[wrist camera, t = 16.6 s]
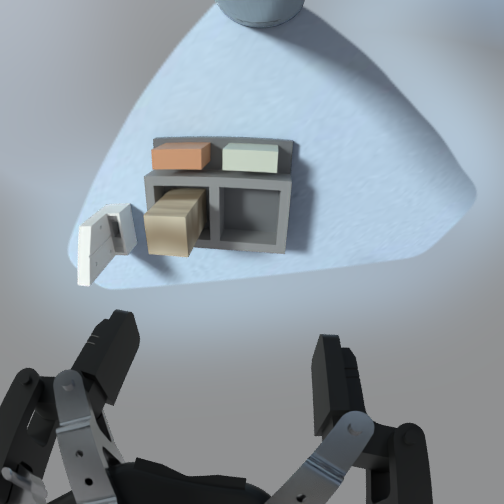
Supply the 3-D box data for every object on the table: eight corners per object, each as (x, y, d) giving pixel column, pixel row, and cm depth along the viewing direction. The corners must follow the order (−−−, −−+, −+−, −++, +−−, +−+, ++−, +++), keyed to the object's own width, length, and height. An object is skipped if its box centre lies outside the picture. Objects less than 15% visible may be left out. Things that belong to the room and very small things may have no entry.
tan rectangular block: (171, 187, 32) (143, 215, 25) (205, 188, 31) (185, 217, 24) (174, 219, 34) (148, 253, 27) (206, 221, 33) (188, 257, 26)
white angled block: (114, 278, 37) (77, 284, 28) (117, 206, 37) (81, 196, 28) (136, 280, 37) (102, 287, 28) (140, 206, 37) (106, 195, 28)
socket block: (156, 137, 30) (137, 145, 25) (292, 140, 29) (295, 147, 25) (163, 229, 35) (148, 248, 31) (284, 236, 35) (284, 258, 30)
